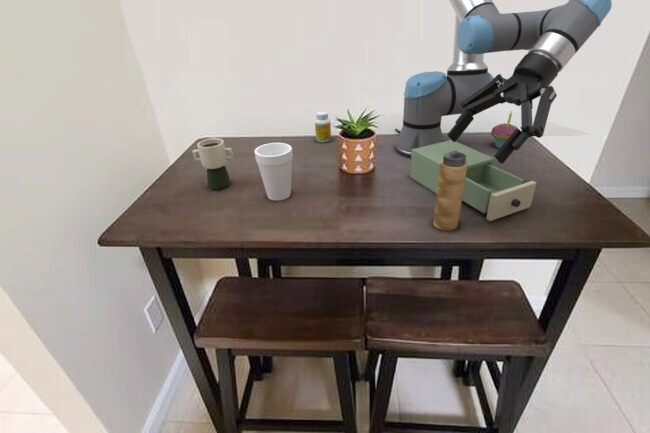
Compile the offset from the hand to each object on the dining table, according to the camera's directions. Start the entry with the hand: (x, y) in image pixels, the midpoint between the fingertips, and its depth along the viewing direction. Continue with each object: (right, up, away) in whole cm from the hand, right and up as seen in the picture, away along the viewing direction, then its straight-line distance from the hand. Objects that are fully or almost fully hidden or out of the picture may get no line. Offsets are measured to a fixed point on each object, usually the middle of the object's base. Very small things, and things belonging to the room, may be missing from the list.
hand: (472, 148), depth 80 cm
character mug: (-61, -6, +30) cm, 68 cm away
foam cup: (-43, -9, +23) cm, 50 cm away
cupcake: (+27, +9, +44) cm, 52 cm away
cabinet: (+3, -5, +25) cm, 25 cm away
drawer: (+9, -11, +13) cm, 19 cm away
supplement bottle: (-31, +13, +57) cm, 66 cm away
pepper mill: (-3, -16, +7) cm, 18 cm away
